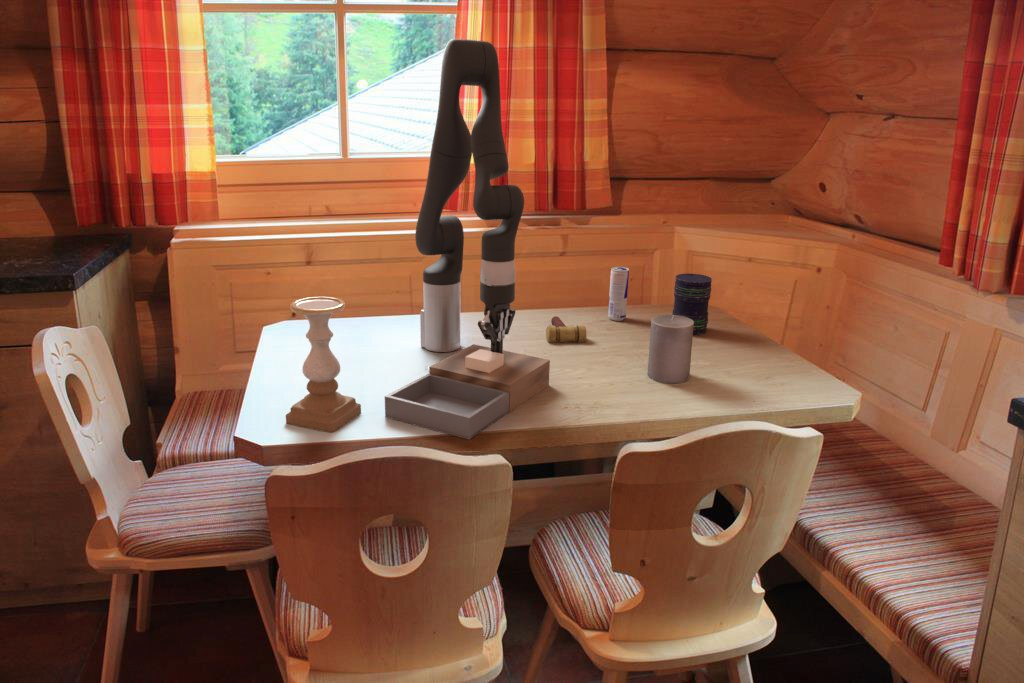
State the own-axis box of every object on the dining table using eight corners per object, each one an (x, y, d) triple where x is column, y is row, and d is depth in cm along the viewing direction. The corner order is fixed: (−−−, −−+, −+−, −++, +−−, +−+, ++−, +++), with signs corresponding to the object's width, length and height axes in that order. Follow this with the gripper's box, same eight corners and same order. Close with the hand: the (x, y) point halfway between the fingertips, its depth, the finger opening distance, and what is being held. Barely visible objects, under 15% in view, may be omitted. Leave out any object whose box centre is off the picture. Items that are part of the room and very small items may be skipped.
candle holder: (284, 423, 157) (276, 306, 150) (316, 403, 167) (309, 293, 159) (332, 433, 154) (326, 313, 146) (362, 412, 163) (357, 299, 156)
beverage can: (628, 318, 231) (632, 267, 226) (621, 322, 227) (624, 271, 222) (612, 315, 234) (615, 265, 229) (604, 319, 230) (607, 268, 225)
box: (385, 416, 161) (384, 396, 160) (428, 392, 174) (428, 373, 172) (469, 439, 152) (469, 418, 151) (508, 412, 165) (509, 392, 163)
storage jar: (710, 336, 217) (716, 282, 212) (674, 335, 217) (678, 281, 212) (702, 325, 226) (707, 273, 222) (667, 324, 226) (672, 273, 222)
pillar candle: (663, 366, 193) (667, 306, 189) (697, 376, 187) (703, 315, 182) (638, 376, 187) (642, 314, 182) (673, 387, 180) (678, 324, 176)
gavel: (536, 310, 227) (571, 310, 228) (536, 326, 228) (570, 325, 229) (549, 327, 207) (587, 327, 208) (548, 345, 208) (586, 344, 209)
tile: (465, 367, 172) (465, 356, 171) (480, 359, 177) (480, 349, 176) (489, 372, 169) (489, 361, 169) (503, 364, 174) (503, 354, 174)
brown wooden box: (429, 392, 174) (429, 366, 172) (473, 368, 189) (473, 344, 187) (509, 412, 165) (510, 385, 163) (548, 385, 180) (549, 360, 178)
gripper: (497, 271, 178) (496, 344, 184) (466, 283, 167) (466, 361, 173) (527, 275, 175) (525, 350, 180) (497, 288, 164) (496, 367, 169)
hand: (496, 355), depth 176 cm, fingers closed
